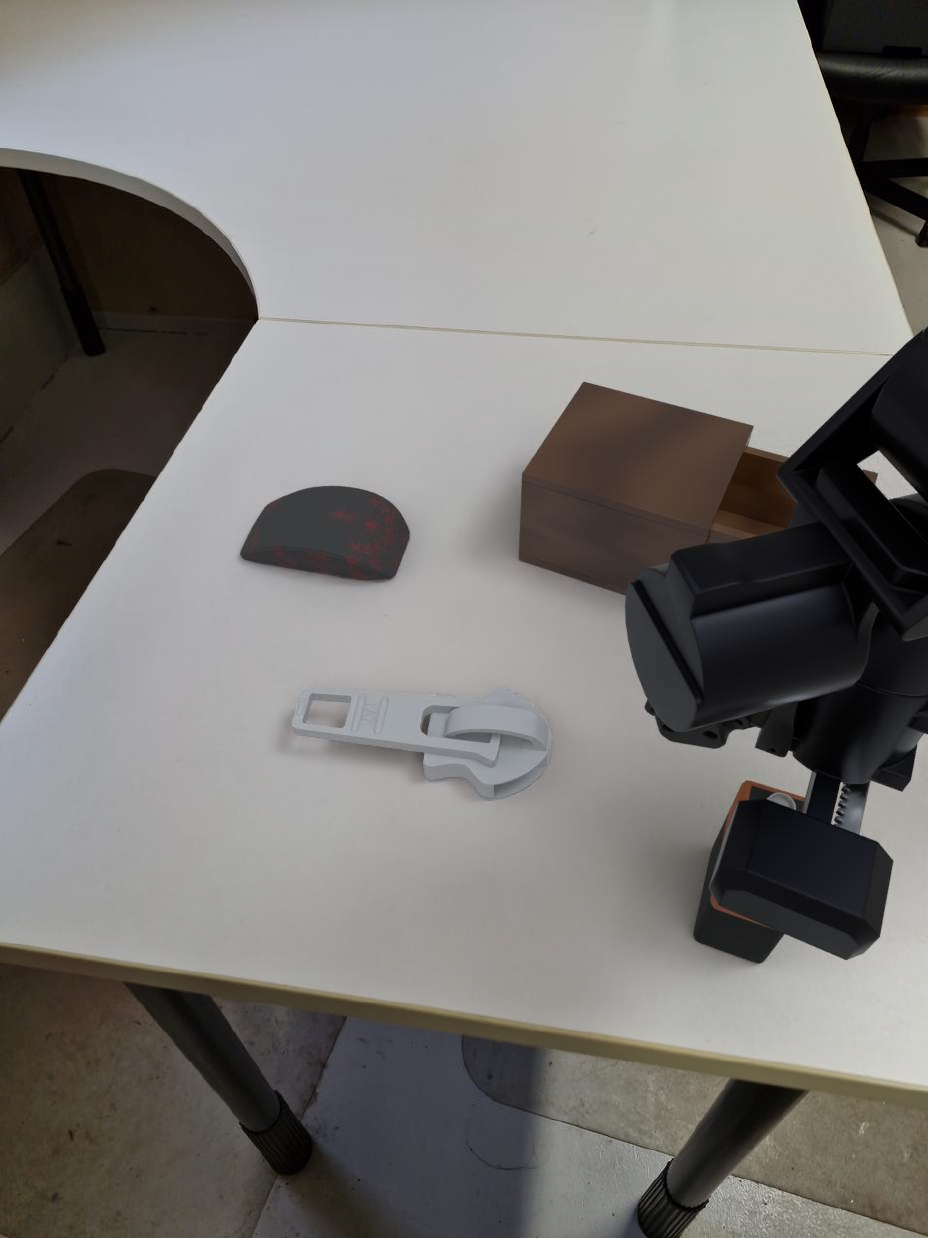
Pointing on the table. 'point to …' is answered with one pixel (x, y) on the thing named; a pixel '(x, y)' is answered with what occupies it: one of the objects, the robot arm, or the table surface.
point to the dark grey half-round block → (330, 533)
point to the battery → (723, 924)
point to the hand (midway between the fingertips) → (785, 821)
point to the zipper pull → (445, 734)
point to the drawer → (756, 499)
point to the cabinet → (624, 485)
